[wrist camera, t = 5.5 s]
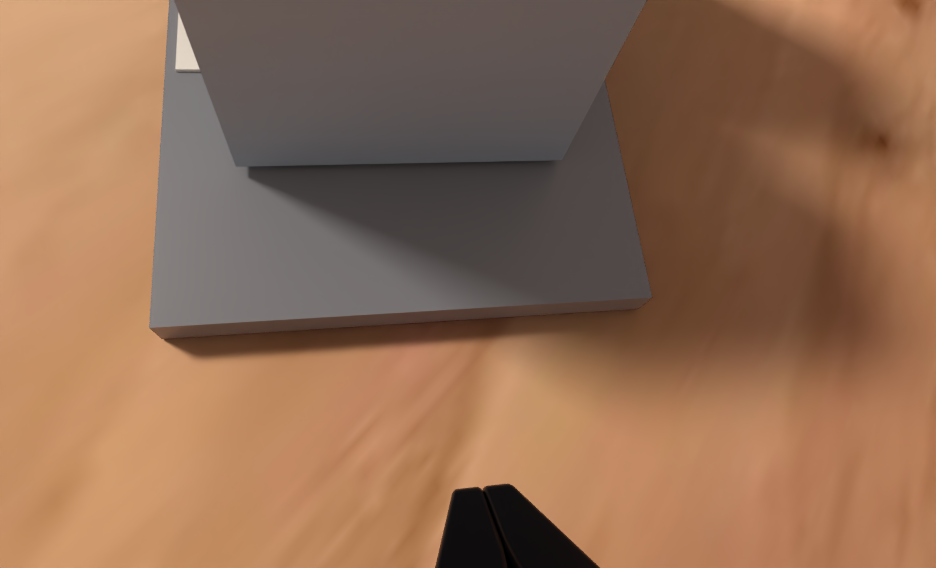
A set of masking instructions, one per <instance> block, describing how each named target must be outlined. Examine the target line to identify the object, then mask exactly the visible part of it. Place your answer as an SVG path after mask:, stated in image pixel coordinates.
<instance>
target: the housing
mask: <svg viewBox="0 0 936 568" xmlns="http://www.w3.org/2000/svg"><path fill="white" fill-rule="evenodd" d="M651 298H652V294H651V289H650V285H649V280H648V276H647V271H646V266H645V262H644V257H643V253H642V248H641V244H640V239H639V234H638V230H637V225H636V221H635V216H634V211H633V207H632V202H631V198H630V193H629V189H628V184H627V179H626V175H625V170H624V166H623V161H622V156H621V152H620V147H619V143H618V138H617V134H616V129H615V124H614V120H613V115H612V111H611V106H610V101H609V97H608V92H607V88H606V83H605V80H604V82H603V84H602V86H601V88H600V89H599V91H598V93H597V95H596V97H595V99H594V101H593V103H592V104H591V106H590V108H589V110H588V112H587V114H586V116H585V118H584V120H583V121H582V123H581V125H580V127H579V129H578V131H577V133H576V135H575V136H574V138H573V140H572V142H571V144H570V146H569V148H568V150H567V152H566V153H565V155H564V157H563V159H562V160H549V161H499V162H448V163H398V164H347V165H297V166H246V167H236V166H235V163H234V160H233V158H232V155H231V152H230V149H229V147H228V144H227V141H226V139H225V136H224V133H223V131H222V128H221V125H220V123H219V120H218V117H217V115H216V112H215V109H214V106H213V104H212V101H211V98H210V96H209V93H208V90H207V88H206V85H205V82H204V80H203V77H202V74H201V71H200V69H199V66H198V63H197V61H196V58H195V55H194V53H193V50H192V47H191V45H190V42H189V39H188V37H187V34H186V31H185V28H184V26H183V23H182V20H181V18H180V15H179V12H178V10H177V7H176V4H175V2H174V0H169V13H168V30H167V46H166V62H165V79H164V95H163V112H162V128H161V144H160V161H159V177H158V193H157V210H156V226H155V242H154V259H153V275H152V292H151V308H150V324H149V328H150V329H151V330H152V331H153V332H155V333H156V334H157V335H158V336H159V337H160V338H161V339H169V338H185V337H201V336H216V335H232V334H248V333H264V332H280V331H295V330H311V329H327V328H343V327H359V326H375V325H390V324H406V323H422V322H438V321H454V320H469V319H485V318H501V317H517V316H533V315H549V314H564V313H580V312H596V311H612V310H628V309H639V308H640V307H641V306H642V305H644V304H645V303H646V302H647V301H649V300H650V299H651Z"/></svg>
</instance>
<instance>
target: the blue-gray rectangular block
mask: <svg viewBox="0 0 936 568" xmlns="http://www.w3.org/2000/svg"><path fill="white" fill-rule="evenodd" d="M646 1H647V0H174V2H175V4H176V7H177V10H178V12H179V15H180V18H181V20H182V23H183V26H184V28H185V31H186V34H187V37H188V39H189V42H190V45H191V47H192V50H193V53H194V55H195V58H196V61H197V63H198V66H199V69H200V71H201V74H202V77H203V80H204V82H205V85H206V88H207V90H208V93H209V96H210V98H211V101H212V104H213V106H214V109H215V112H216V115H217V117H218V120H219V123H220V125H221V128H222V131H223V133H224V136H225V139H226V141H227V144H228V147H229V149H230V152H231V155H232V158H233V160H234V163H235V166H236V167H246V166H297V165H347V164H398V163H448V162H499V161H549V160H562V159H563V157H564V155H565V153H566V152H567V150H568V148H569V146H570V144H571V142H572V140H573V138H574V136H575V135H576V133H577V131H578V129H579V127H580V125H581V123H582V121H583V120H584V118H585V116H586V114H587V112H588V110H589V108H590V106H591V104H592V103H593V101H594V99H595V97H596V95H597V93H598V91H599V89H600V88H601V86H602V84H603V82H604V80H605V78H606V76H607V74H608V72H609V71H610V69H611V67H612V65H613V63H614V61H615V59H616V57H617V56H618V54H619V52H620V50H621V48H622V46H623V44H624V42H625V40H626V39H627V37H628V35H629V33H630V31H631V29H632V27H633V25H634V24H635V22H636V20H637V18H638V16H639V14H640V12H641V10H642V8H643V7H644V5H645V3H646Z"/></svg>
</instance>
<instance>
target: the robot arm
mask: <svg viewBox="0 0 936 568" xmlns="http://www.w3.org/2000/svg"><path fill="white" fill-rule="evenodd" d="M435 568H600V567H599V566H598V565H597V564H596V563H594V562H593V561H592V560H591V559H590V558H589V557H588V556H587V555H586V554H585V553H584V552H583V551H582V550H581V549H580V548H579V547H577V546H576V545H575V544H574V543H573V542H572V541H571V540H570V539H569V538H568V537H567V536H566V535H565V534H564V533H563V532H562V531H561V530H559V529H558V528H557V527H556V526H555V525H554V524H553V523H552V522H551V521H550V520H549V519H548V518H547V517H546V516H545V515H544V514H542V513H541V512H540V511H539V510H538V509H537V508H536V507H535V506H534V505H533V504H532V503H531V502H530V501H529V500H528V499H527V498H525V497H524V496H523V495H522V494H521V493H520V492H519V491H518V490H517V489H516V488H515V487H514V486H512V485H510V484H500V485H491V486H486V487H484V488H483V490H482V489H481V488H479V487H472V488H463V489H456V490H454V492H453V493H452V497H451V501H450V505H449V510H448V514H447V519H446V523H445V527H444V532H443V536H442V540H441V545H440V549H439V553H438V558H437V562H436V566H435Z"/></svg>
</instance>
